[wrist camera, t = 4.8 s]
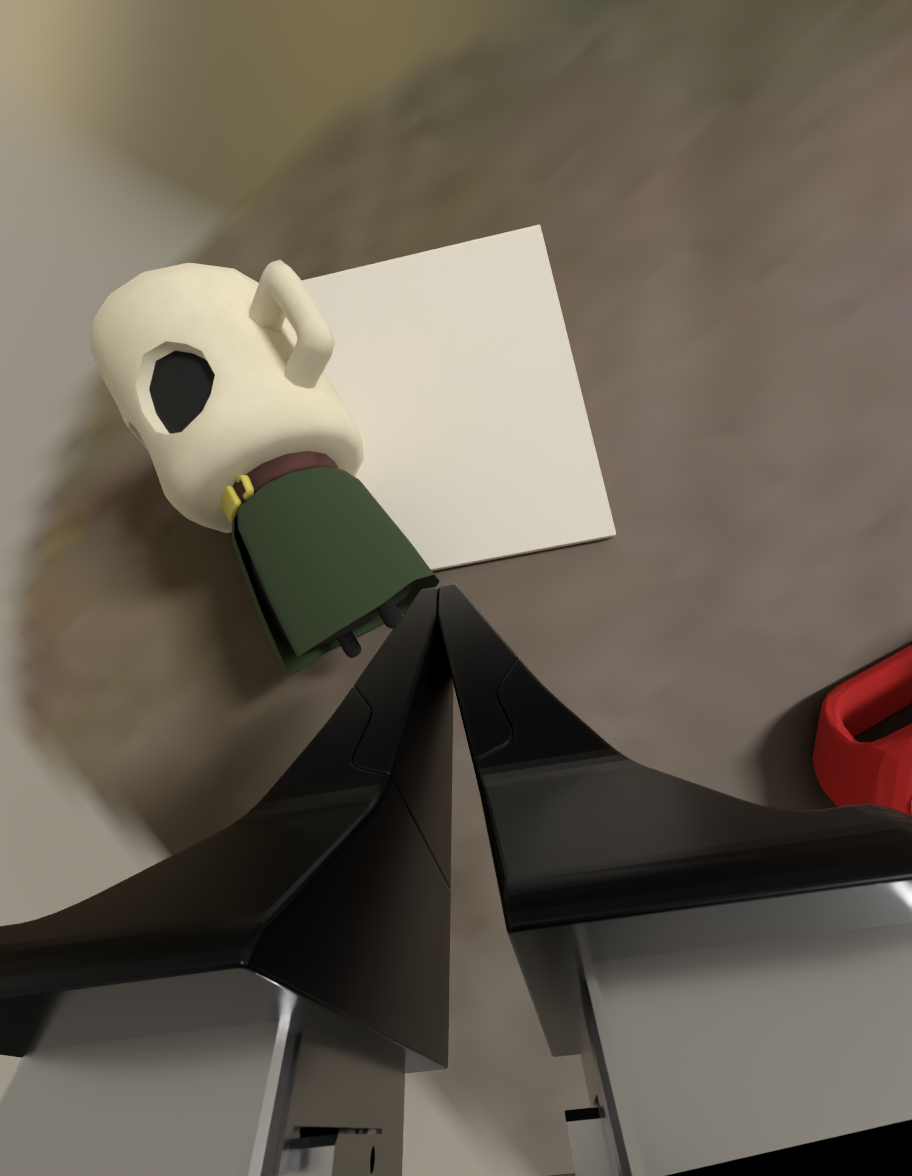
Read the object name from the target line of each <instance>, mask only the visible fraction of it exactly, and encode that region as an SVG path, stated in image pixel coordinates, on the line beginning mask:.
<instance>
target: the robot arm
mask: <svg viewBox="0 0 912 1176" xmlns="http://www.w3.org/2000/svg"><path fill="white" fill-rule="evenodd" d="M453 684H454V688H455V692H456V696H457V700H458V704H459V708H460V712H461V717H462V721H463V725H464V729H465V733H466V737H467V741H468V745H469V749H470V754H471V758H472V762H473V765H474V770H475V774H476V779H477V783H478V787H479V792H480V796H481V801H482V806H483V811H484V816H485V821H486V826H487V832H488V837H489V842H490V847H491V852H492V857H493V862H494V867H495V872H496V877H497V882H498V887H499V892H500V897H501V903H502V908H503V913H504V918H505V924H506V929H507V932H508V935H509V938H510V941H511V944H512V946H513V949H514V952H515V955H516V957H517V960H518V963H519V966H520V968H521V971H522V974H523V977H524V979H525V982H526V985H527V988H528V990H529V993H530V996H531V999H532V1001H533V1004H534V1007H535V1010H536V1012H537V1015H538V1018H539V1021H540V1023H541V1026H542V1029H543V1032H544V1034H545V1037H546V1040H547V1043H548V1045H549V1048H550V1051H551V1054H552V1056H554V1057H557V1056H566V1055H575V1054H581V1059H582V1064H583V1069H584V1074H585V1079H586V1084H587V1088H588V1093H589V1098H590V1103H591V1108H585V1109H576V1110H566V1111H565V1116H566V1122H567V1128H568V1134H569V1140H570V1146H571V1152H572V1158H573V1164H574V1170H575V1173H572V1174H561V1175H551V1176H912V816H911V815H908V814H906V813H903V812H901V811H899V810H896V809H893V808H889V807H886V806H881V805H870V804H859V805H847V806H840V807H833V808H826V809H819V810H788V809H779V808H773V807H767V806H762V805H758V804H755V803H751V802H748V801H744V800H741V799H738V798H735V797H732V796H730V795H727V794H724V793H721V792H718V791H715V790H712V789H709V788H706V787H704V786H701V785H698V784H695V783H692V782H689V781H686V780H683V779H680V778H677V777H675V776H672V775H669V774H666V773H663V772H660V771H657V770H654V769H651V768H649V767H646V766H643V765H640V764H638V763H636V762H634V761H632V760H631V759H629V758H627V757H626V756H624V755H623V754H621V753H620V752H618V751H617V750H616V749H614V748H613V747H612V746H611V745H610V744H608V743H607V742H606V741H605V740H604V739H603V738H601V737H600V736H599V735H598V734H597V733H596V732H595V731H593V730H592V729H591V728H590V727H589V726H588V725H587V724H585V723H584V722H583V721H582V720H581V719H580V718H579V717H578V716H576V715H575V714H574V713H573V712H572V711H571V710H570V709H568V708H567V707H566V706H565V705H564V704H563V703H562V702H560V701H559V700H558V699H557V698H556V697H555V696H554V695H553V694H552V693H551V692H550V691H549V690H548V689H547V688H546V687H544V686H543V685H542V683H541V682H540V681H539V680H538V679H537V678H536V677H535V676H534V675H533V674H532V673H531V671H530V670H529V669H528V668H527V667H526V666H525V665H524V663H523V662H522V661H521V660H520V659H519V658H518V657H517V655H516V654H515V653H514V652H513V651H512V649H511V648H510V647H509V646H508V645H507V644H506V642H505V641H504V640H503V639H502V638H501V636H500V635H499V634H498V633H497V632H496V631H495V629H494V628H493V627H492V626H491V625H490V623H489V622H488V621H487V620H486V619H485V618H484V616H483V615H482V614H481V613H480V612H479V610H478V609H477V608H476V607H475V606H474V605H473V603H472V602H471V601H470V600H469V599H468V597H467V596H466V595H465V594H464V593H463V592H462V590H461V589H460V588H459V587H458V586H457V585H456V584H449V585H443V586H440V587H439V589H438V588H437V587H433V588H427V589H422V590H421V591H420V592H419V593H418V595H417V596H416V597H415V599H414V600H413V602H412V603H411V605H410V606H409V608H408V609H407V610H406V612H405V613H404V615H403V616H402V618H401V619H400V620H399V622H398V623H397V625H396V626H395V628H394V629H393V630H392V632H391V633H390V635H389V636H388V638H387V639H386V640H385V642H384V643H383V645H382V646H381V648H380V649H379V650H378V652H377V653H376V655H375V656H374V658H373V659H372V660H371V662H370V663H369V665H368V666H367V668H366V669H365V670H364V672H363V673H362V675H361V676H360V678H359V679H358V680H357V682H356V683H355V685H354V688H352V689H351V690H350V692H349V693H348V694H347V696H346V697H345V699H344V700H343V702H342V703H341V704H340V706H339V707H338V708H337V710H336V711H335V712H334V714H333V715H332V716H331V718H330V719H329V720H328V722H327V723H326V724H325V725H324V727H323V728H322V729H321V730H320V731H319V733H318V734H317V735H316V736H315V738H314V739H313V740H312V741H311V742H310V744H309V745H308V746H307V747H306V748H305V749H304V751H303V752H302V753H301V754H300V755H299V756H298V758H297V759H296V760H295V761H294V762H293V763H292V765H291V766H290V767H289V768H288V769H287V770H286V772H285V773H284V774H283V775H282V776H281V777H280V779H279V780H278V781H277V782H276V783H275V784H274V786H273V787H272V788H271V789H270V790H269V791H268V793H267V794H266V795H265V796H264V797H263V798H262V799H261V800H260V801H259V802H258V804H256V805H255V806H254V807H253V808H252V809H251V810H250V811H249V812H248V813H247V814H245V815H244V816H243V817H242V818H240V819H239V820H238V821H236V822H235V823H233V824H232V825H230V826H229V827H227V828H225V829H223V830H221V831H220V832H218V833H216V834H214V835H212V836H210V837H208V838H206V839H204V840H202V841H200V842H198V843H196V844H194V845H192V846H190V847H188V848H186V849H184V850H182V851H181V852H179V853H177V854H175V855H173V856H171V857H169V858H167V859H165V860H163V861H161V862H159V863H157V864H155V865H153V866H151V867H149V868H147V869H145V870H143V871H141V872H140V873H138V874H136V875H134V876H132V877H130V878H128V879H126V880H124V881H122V882H120V883H118V884H116V885H114V886H112V887H110V888H108V889H106V890H104V891H102V892H100V893H98V894H97V895H94V896H92V897H90V898H88V899H86V900H84V901H82V902H80V903H78V904H75V905H73V906H71V907H68V908H66V909H64V910H61V911H59V912H57V913H54V914H51V915H48V916H45V917H42V918H40V919H37V920H33V921H29V922H24V923H20V924H13V925H6V926H0V1055H8V1056H16V1057H22V1060H21V1062H20V1063H19V1065H18V1067H17V1069H16V1071H15V1073H14V1075H13V1076H12V1078H11V1080H10V1082H9V1084H8V1086H7V1088H6V1090H5V1092H4V1093H3V1095H2V1097H1V1099H0V1176H402V1157H403V1123H404V1088H405V1073H413V1072H422V1071H431V1070H440V1069H446V1068H447V1067H448V1032H449V962H450V894H451V891H450V889H449V888H450V886H451V815H452V743H453Z"/></svg>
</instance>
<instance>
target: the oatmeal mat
mask: <svg viewBox="0 0 912 1176" xmlns="http://www.w3.org/2000/svg"><path fill="white" fill-rule="evenodd" d="M302 283H303V284H304V286H305V288H306V289H307V291H308V292H309V294H310V296H311V297H312V299H313V300H314V302H315V303H316V305H317V307H318V308H319V310H320V312H321V313H322V315H323V316H324V318H325V320H326V321H327V323H328V324H329V326H330V328H331V331H332V334H333V337H334V340H335V344H334V348H333V352H332V356H331V358H330V360H329V361H328V363H327V365H326V367H325V369H324V372H325V374H326V375H327V377H328V378H329V380H330V382H331V383H332V385H333V386H334V388H335V390H336V391H337V393H338V395H339V396H340V398H341V399H342V401H343V403H344V404H345V406H346V408H347V409H348V411H349V412H350V414H351V416H352V417H353V419H354V421H355V422H356V424H357V425H358V428H359V431H360V434H361V437H362V440H363V453H364V460H363V462H362V464H361V466H360V468H359V470H358V472H357V474H356V476H355V477H356V478H357V479H359V480H360V481H361V482H362V484H363V485H364V486H365V487H366V488H367V490H368V491H369V492H370V493H371V495H372V496H373V497H374V498H375V499H376V501H377V502H378V503H379V504H380V506H381V507H382V508H383V509H384V510H385V512H386V513H387V514H388V515H389V517H390V518H391V519H392V520H393V521H394V523H395V524H396V525H397V526H398V528H399V529H400V530H401V531H402V532H403V534H404V535H405V536H406V537H407V539H408V540H409V541H410V542H411V543H412V545H413V546H414V548H415V549H416V550H417V552H418V553H419V554H420V556H421V557H422V558H423V560H424V561H425V562H426V564H427V565H428V566H429V568H430V569H431V570H432V571H436V570H441V569H446V568H452V567H457V566H462V565H468V564H473V563H478V562H484V561H489V560H494V559H500V558H505V557H510V556H516V555H521V554H526V553H532V552H537V551H542V550H548V549H553V548H558V547H563V546H569V545H574V544H579V543H585V542H590V541H595V540H601V539H606V538H611V537H614V536H615V535H616V531H615V527H614V523H613V519H612V515H611V511H610V507H609V503H608V499H607V495H606V491H605V487H604V483H603V478H602V474H601V470H600V466H599V462H598V458H597V454H596V450H595V446H594V442H593V438H592V434H591V430H590V426H589V422H588V418H587V413H586V409H585V405H584V401H583V397H582V393H581V389H580V385H579V381H578V377H577V373H576V369H575V365H574V361H573V357H572V353H571V348H570V344H569V340H568V336H567V332H566V328H565V324H564V320H563V316H562V312H561V308H560V304H559V300H558V296H557V292H556V288H555V283H554V279H553V275H552V271H551V267H550V263H549V259H548V255H547V251H546V247H545V243H544V239H543V235H542V231H541V227H540V225H536V226H532V227H527V228H523V229H519V230H515V231H510V232H506V233H502V234H498V235H493V236H489V237H485V238H481V239H476V240H472V241H468V242H464V243H460V244H455V245H451V246H447V247H443V248H438V249H434V250H430V251H426V252H421V253H417V254H413V255H409V256H404V257H400V258H396V259H392V260H388V261H383V262H379V263H375V264H371V265H366V266H362V267H358V268H354V269H349V270H345V271H341V272H337V273H333V274H328V275H324V276H320V277H316V278H311V279H307V280H303V281H302Z"/></svg>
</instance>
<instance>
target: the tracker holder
mask: <svg viewBox="0 0 912 1176" xmlns="http://www.w3.org/2000/svg"><path fill="white" fill-rule="evenodd" d="M911 703H912V645H910V646H908V647H906V648H904V649H903V650H901V651H899V652H897V653H895V654H894V655H892V656H890V657H888V658H887V659H885V660H883V661H881V662H879V663H878V664H876V665H874V666H872V667H870V668H869V669H867V670H865V671H863V672H861V673H860V674H858V675H856V676H854V677H852V678H851V679H849V680H847V681H845V682H843V683H842V684H840V685H838V686H836V687H835V688H834V689H833V690H832V691H831V692H830V693H829V694H827V696H826V697H825V699H824V701H823V703H822V706H821V711H820V717H819V723H818V729H817V735H816V740H815V746H814V752H813V767H814V770H815V773H816V776H817V779H818V781H819V783H820V785H821V787H822V789H823V790H824V792H825V793H826V795H827V796H828V797H829V798H830V799H831V800H832V802H833V803H834V804H835V805H836V806H837V807H840V806H847V805H859V804H870V805H881V806H886V807H889V808H893V809H896V810H899V811H901V812H903V813H906V814H908V815H911V816H912V724H910V725H908V726H906V727H904V728H902V729H900V730H898V731H896V732H894V733H892V734H890V735H888V736H886V737H884V738H881V739H879V740H876V741H874V742H858V741H856V740H855V739H854V737H855V736H857V735H859V734H861V733H862V732H864V731H866V730H867V729H869V728H871V727H872V726H874V725H876V724H877V723H879V722H881V721H882V720H884V719H886V718H888V717H889V716H891V715H893V714H894V713H896V712H898V711H899V710H901V709H903V708H904V707H906V706H908V705H910V704H911Z"/></svg>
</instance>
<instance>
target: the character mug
mask: <svg viewBox="0 0 912 1176" xmlns="http://www.w3.org/2000/svg"><path fill="white" fill-rule="evenodd" d="M90 338H91V349H92V353H93V356H94V358H95V361H96V363H97V366H98V368H99V371H100V373H101V375H102V378H103V380H104V382H105V384H106V386H107V388H108V389H109V391H110V393H111V395H112V397H113V398H114V400H115V402H116V404H117V406H118V408H119V410H120V413H121V415H122V418H123V420H124V422H125V424H126V425H127V426H128V427H129V429H130V430H131V431H132V432H133V433H134V435H135V436H136V437H137V438H138V439H139V441H140V442H141V443H142V444H143V445H144V446H145V447H146V448H147V450H148V452H149V454H150V456H151V459H152V461H153V464H154V467H155V469H156V472H157V475H158V478H159V481H160V484H161V487H162V489H163V492H164V495H165V496H166V498H167V499H168V501H169V502H170V503H171V504H172V505H173V507H175V508H176V509H177V510H178V511H179V512H180V513H181V514H182V515H183V516H185V517H186V518H187V519H189V520H191V521H193V522H195V523H197V524H199V525H201V526H204V527H207V528H211V529H214V530H218V531H221V532H224V533H229V532H232V544H233V547H234V550H235V553H236V555H237V558H238V561H239V564H240V567H241V570H242V573H243V576H244V579H245V581H246V584H247V587H248V590H249V593H250V595H251V598H252V601H253V604H254V606H255V609H256V612H257V615H258V617H259V620H260V622H261V624H262V627H263V629H264V631H265V634H266V636H267V638H268V641H269V643H270V645H271V648H272V650H273V652H274V654H275V657H276V659H277V661H278V664H279V666H280V668H281V671H282V673H283V674H284V675H285V676H286V675H289V674H292V673H295V672H297V671H300V670H303V669H304V668H305V667H307V666H308V665H309V664H311V663H312V662H313V661H315V660H316V659H317V658H319V657H320V656H321V655H323V654H324V653H326V652H327V651H329V650H331V649H333V648H335V647H337V646H339V645H341V647H342V649H343V650H344V652H345V654H346V655H347V656H348V657H350V658H353V657H356V656H357V655H359V654H360V652H361V647H360V644H359V642H358V641H357V639H356V637H357V636H359V635H361V634H363V633H365V632H367V631H369V630H371V629H373V628H376V627H378V626H380V625H382V624H384V623H385V625H386V626H387V627H389V628H395V626H396V625H397V623H398V622H399V620H400V619H401V618H402V616H401V614H403V613H405V612H406V610H407V609H408V608H409V606H410V605H411V603H412V602H413V600H414V599H415V597H416V596H417V595H418V593H419V592H420V591H421V590H422V589H427V588H433V587H436V586H437V584H438V583H439V580H438V579H437V577H436V576H435V575H434V573H433V572H432V570H431V569H430V568H429V566H428V565H427V564H426V562H425V561H424V560H423V558H422V557H421V556H420V554H419V553H418V552H417V550H416V549H415V548H414V546H413V545H412V543H411V542H410V541H409V540H408V539H407V537H406V536H405V535H404V534H403V532H402V531H401V530H400V529H399V528H398V526H397V525H396V524H395V523H394V521H393V520H392V519H391V518H390V517H389V515H388V514H387V513H386V512H385V510H384V509H383V508H382V507H381V506H380V504H379V503H378V502H377V501H376V499H375V498H374V497H373V496H372V495H371V493H370V492H369V491H368V490H367V488H366V487H365V486H364V485H363V484H362V482H361V481H360V480H359V479H357V478H356V477H355V476H356V474H357V472H358V470H359V468H360V466H361V464H362V462H363V460H364V453H363V440H362V437H361V434H360V431H359V428H358V425H357V424H356V422H355V421H354V419H353V417H352V416H351V414H350V412H349V411H348V409H347V408H346V406H345V404H344V403H343V401H342V399H341V398H340V396H339V395H338V393H337V391H336V390H335V388H334V386H333V385H332V383H331V382H330V380H329V378H328V377H327V375H326V374H325V372H324V369H325V367H326V365H327V363H328V361H329V360H330V358H331V356H332V352H333V348H334V344H335V340H334V337H333V334H332V331H331V328H330V326H329V324H328V323H327V321H326V320H325V318H324V316H323V315H322V313H321V312H320V310H319V308H318V307H317V305H316V303H315V302H314V300H313V299H312V297H311V296H310V294H309V292H308V291H307V289H306V288H305V286H304V284H303V283H302V281H301V280H300V278H299V277H298V276H297V275H296V274H295V272H294V271H293V270H292V269H291V268H290V267H289V266H288V265H286V264H285V263H284V262H282V261H281V260H278V261H275V262H271V263H269V265H268V266H267V267H266V269H265V270H264V271H263V273H262V276H261V279H260V282H259V283H257V282H256V281H254V280H252V279H251V278H249V277H247V276H245V275H244V274H242V273H240V272H239V271H237V270H235V269H232V268H224V267H217V266H210V265H202V264H195V263H185V264H180V265H175V266H170V267H166V268H161V269H156V270H152V271H147V272H143V273H141V274H140V275H138V276H137V277H135V278H134V279H132V280H131V281H129V282H128V283H126V284H125V285H123V286H122V287H120V288H119V289H117V290H116V291H114V292H113V293H111V294H110V295H109V296H108V297H107V299H106V300H105V302H104V304H103V305H102V307H101V308H100V310H99V312H98V313H97V314H96V316H95V318H94V322H93V326H92V329H91V333H90Z"/></svg>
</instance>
